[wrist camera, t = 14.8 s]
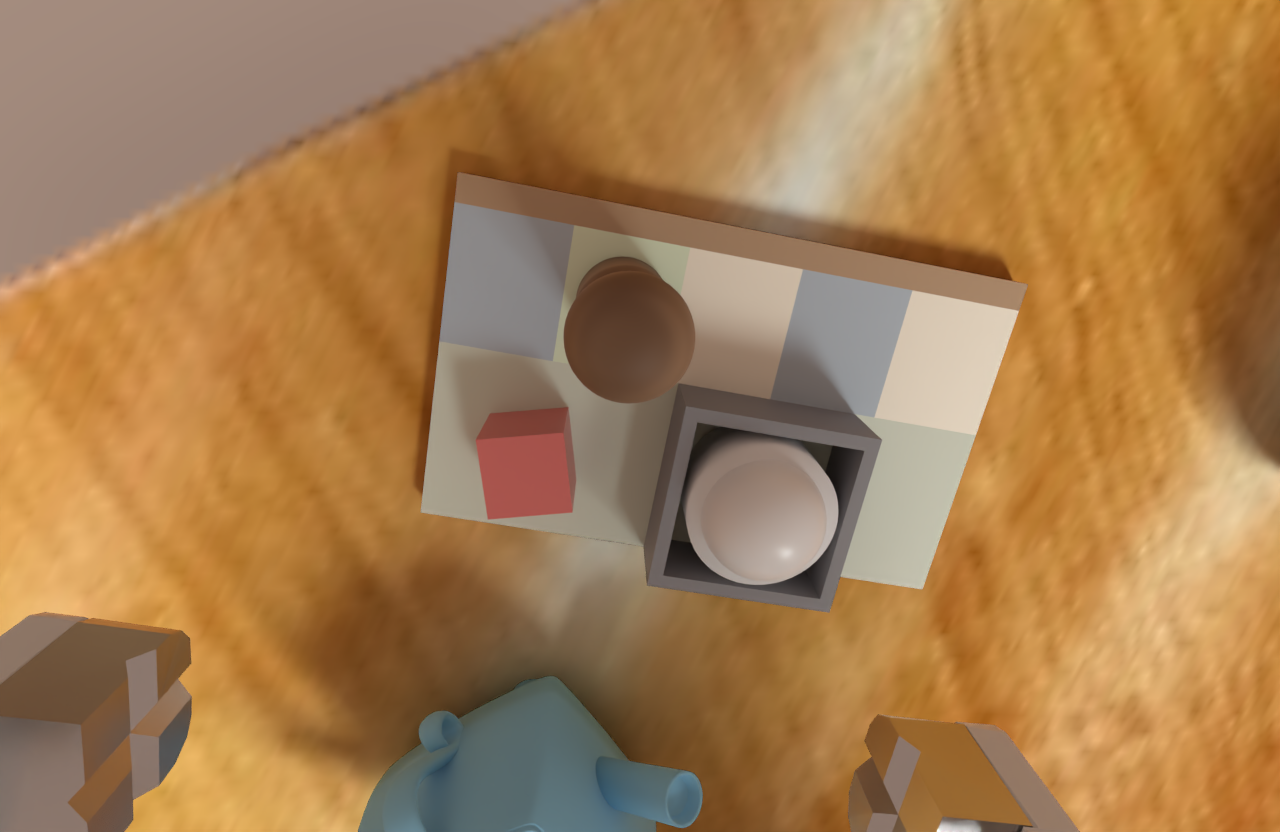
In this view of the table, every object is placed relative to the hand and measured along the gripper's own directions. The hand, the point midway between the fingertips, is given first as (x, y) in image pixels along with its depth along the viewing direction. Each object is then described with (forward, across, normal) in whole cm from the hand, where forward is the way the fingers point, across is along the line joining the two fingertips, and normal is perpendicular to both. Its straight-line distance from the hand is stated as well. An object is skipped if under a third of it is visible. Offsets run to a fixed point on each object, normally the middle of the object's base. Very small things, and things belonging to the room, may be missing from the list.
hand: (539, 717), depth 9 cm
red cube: (+19, +2, +4) cm, 20 cm away
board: (+20, -5, +1) cm, 21 cm away
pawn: (+19, -1, -2) cm, 19 cm away
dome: (+19, -7, +4) cm, 21 cm away
